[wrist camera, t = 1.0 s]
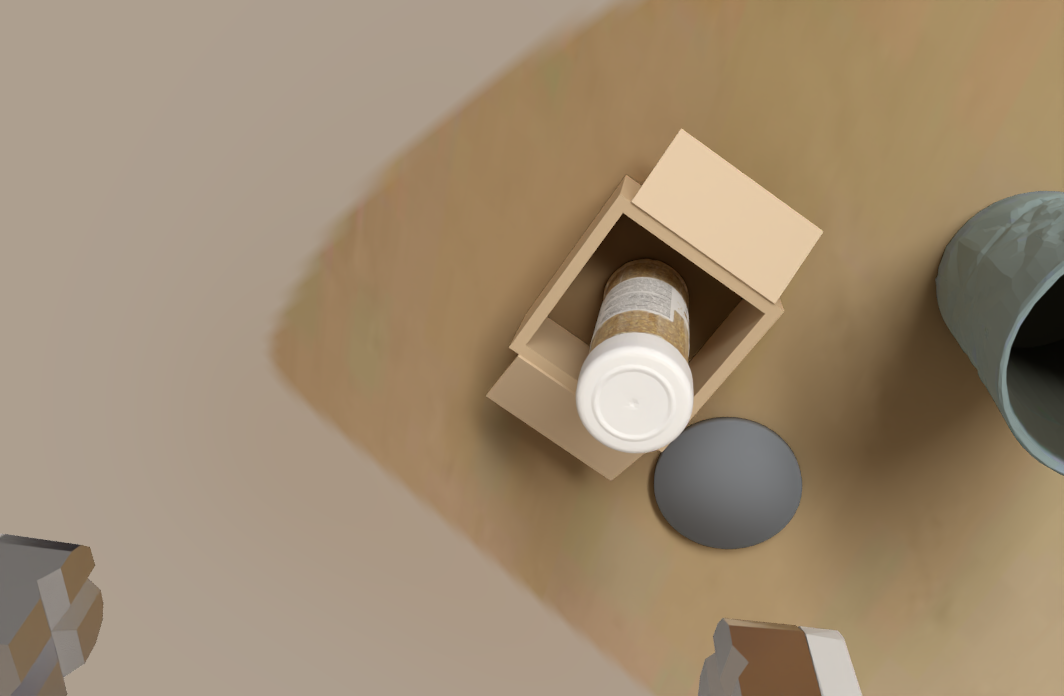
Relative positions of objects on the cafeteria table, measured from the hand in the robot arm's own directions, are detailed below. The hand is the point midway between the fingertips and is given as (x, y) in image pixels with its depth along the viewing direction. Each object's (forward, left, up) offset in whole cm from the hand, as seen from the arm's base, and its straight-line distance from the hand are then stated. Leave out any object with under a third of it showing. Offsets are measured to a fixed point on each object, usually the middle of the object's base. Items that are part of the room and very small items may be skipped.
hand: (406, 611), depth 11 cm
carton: (-6, +4, -35) cm, 36 cm away
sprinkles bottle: (-6, +4, -35) cm, 36 cm away
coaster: (-16, +10, -35) cm, 40 cm away
